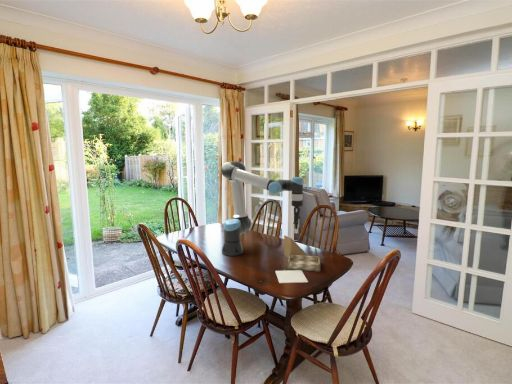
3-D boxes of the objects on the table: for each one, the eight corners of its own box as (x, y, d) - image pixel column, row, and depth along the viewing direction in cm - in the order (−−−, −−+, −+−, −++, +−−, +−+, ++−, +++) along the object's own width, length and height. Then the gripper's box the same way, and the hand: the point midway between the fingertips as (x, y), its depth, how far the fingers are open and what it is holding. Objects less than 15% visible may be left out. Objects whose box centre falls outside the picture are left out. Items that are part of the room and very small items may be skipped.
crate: (287, 269, 181) (287, 261, 180) (289, 260, 195) (289, 253, 194) (320, 271, 177) (320, 264, 176) (319, 262, 192) (319, 255, 191)
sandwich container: (309, 256, 204) (309, 235, 202) (290, 259, 196) (291, 238, 194) (301, 252, 211) (302, 232, 209) (283, 255, 204) (284, 235, 202)
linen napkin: (279, 284, 161) (279, 282, 161) (275, 272, 177) (275, 270, 177) (307, 283, 163) (307, 281, 163) (301, 271, 178) (301, 269, 178)
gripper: (302, 203, 185) (301, 235, 188) (303, 197, 210) (302, 226, 213) (290, 203, 187) (289, 235, 190) (292, 197, 211) (292, 225, 214)
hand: (296, 230), depth 201 cm, fingers open, 13 cm apart
